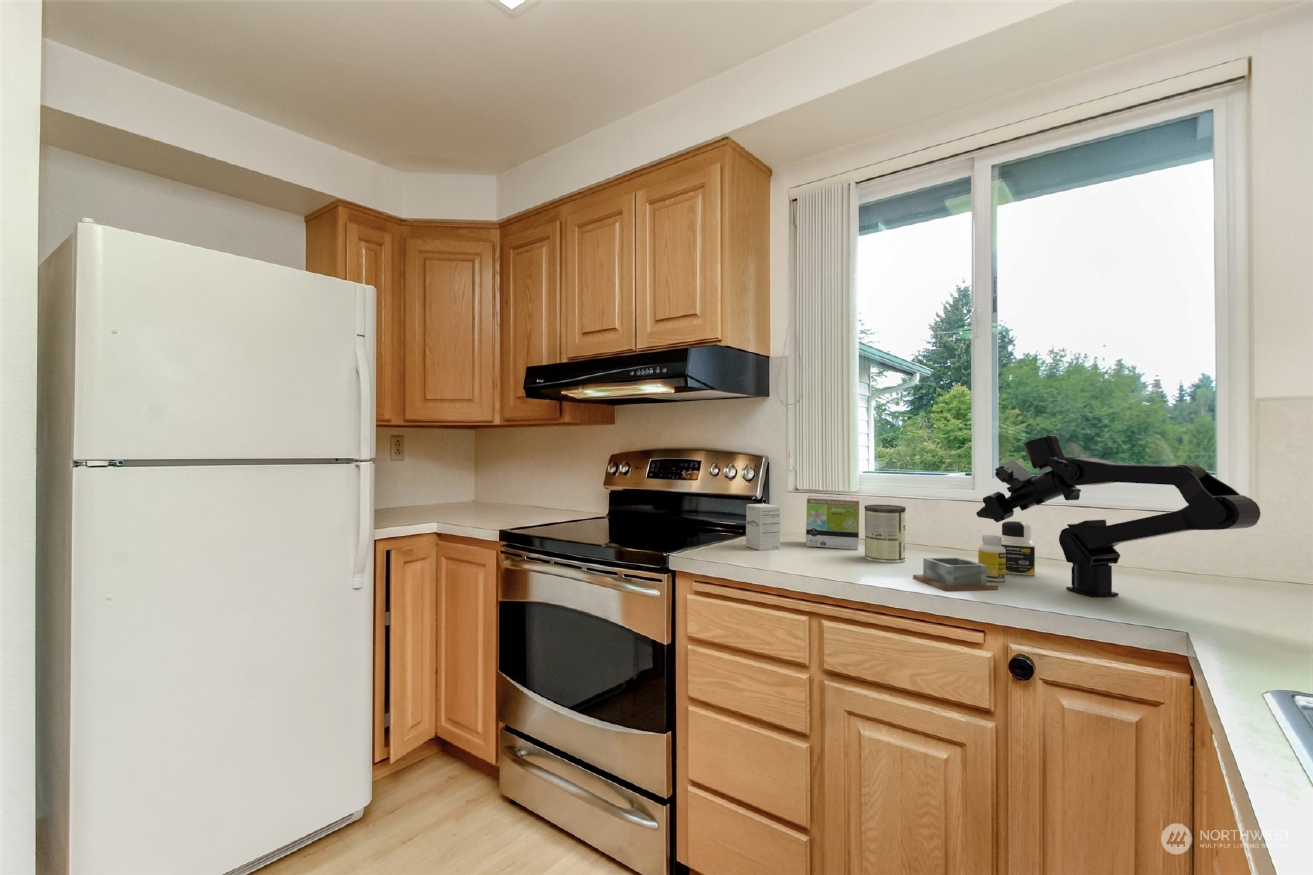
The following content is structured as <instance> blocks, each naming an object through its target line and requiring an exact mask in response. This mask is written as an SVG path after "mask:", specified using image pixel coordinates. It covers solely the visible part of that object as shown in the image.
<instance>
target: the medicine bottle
mask: <svg viewBox="0 0 1313 875" xmlns="http://www.w3.org/2000/svg"><path fill="white" fill-rule="evenodd" d="M1001 537H1002V544H1001V546H1002V547H1004V548H1005V550H1006V562H1005V563H1006V564H1005V574H1011V573H1012V574H1013V575H1021V574H1022V576H1023V575H1024V576H1032V575H1034V576H1035V575H1036V545H1034V542H1033V541H1031V539H1032V525H1031V524H1029V523H1028V522H1024V521H1018V520H1017V521H1016V520H1014V521H1012V520H1011V521H1010V520H1009V521H1005V522H1003V523H1002V524H1001ZM1012 574H1011V575H1012Z"/></svg>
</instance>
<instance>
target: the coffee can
mask: <svg viewBox="0 0 1313 875" xmlns="http://www.w3.org/2000/svg"><path fill="white" fill-rule="evenodd" d="M863 507H864V559H865V560H867V561H872V562H876V563H884V564H885V563H886V564H888V563H889V564H895V563H896V564H898V563H904V562H906V508H907V507H906V506H902V505H896V504H895V505H894V504H867V505H864V506H863Z"/></svg>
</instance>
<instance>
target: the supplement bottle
mask: <svg viewBox="0 0 1313 875" xmlns="http://www.w3.org/2000/svg"><path fill="white" fill-rule="evenodd" d="M981 539H982V541H981V542H982V544H980V545H979V546H978V560H977V563H980V564H983V565H986V582H999V583H1001V582H1004V581H1006V573H1005V564H1006V563H1005V562H1006V550H1005V548H1004V547H1002V546H1001V544H1002V539H1003V538H1002V536H1000V535H991V534H990V535H989V534H983V535H982V537H981Z"/></svg>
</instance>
